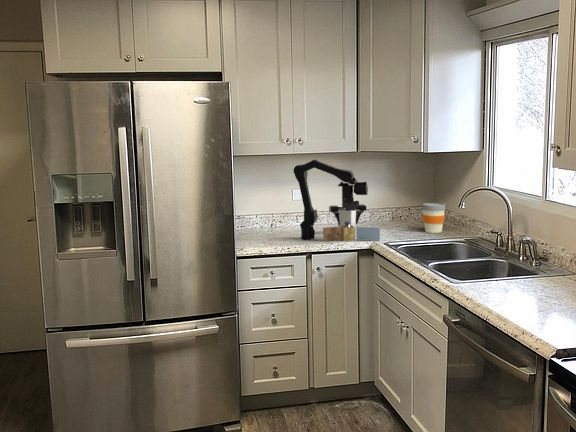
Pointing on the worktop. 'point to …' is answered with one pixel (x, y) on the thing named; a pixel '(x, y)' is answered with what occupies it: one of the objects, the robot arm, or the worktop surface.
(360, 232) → the swing leaf
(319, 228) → the worktop surface
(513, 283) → the worktop surface
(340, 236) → the knuckle leaf
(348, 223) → the hinge pin
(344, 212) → the skincare box
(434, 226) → the reusable coffee cup
